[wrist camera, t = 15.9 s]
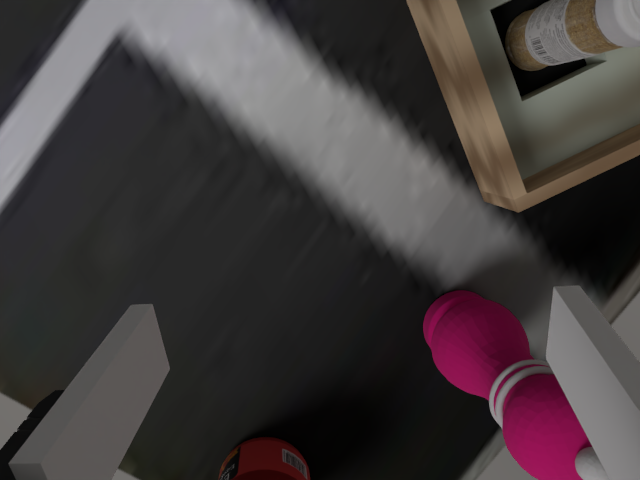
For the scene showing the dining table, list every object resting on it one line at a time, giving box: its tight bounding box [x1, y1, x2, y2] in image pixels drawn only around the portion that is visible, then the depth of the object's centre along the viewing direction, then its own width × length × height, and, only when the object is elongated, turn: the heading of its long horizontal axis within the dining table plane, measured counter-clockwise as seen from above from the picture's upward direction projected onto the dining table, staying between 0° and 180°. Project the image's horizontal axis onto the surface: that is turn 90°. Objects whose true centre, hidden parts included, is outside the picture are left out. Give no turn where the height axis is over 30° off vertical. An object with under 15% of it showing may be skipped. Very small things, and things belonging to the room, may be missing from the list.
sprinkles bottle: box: [505, 0, 640, 71], centre depth 33 cm, size 5×5×13 cm
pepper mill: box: [423, 290, 610, 480], centre depth 34 cm, size 7×7×20 cm
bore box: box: [406, 0, 640, 212], centre depth 36 cm, size 20×16×6 cm
